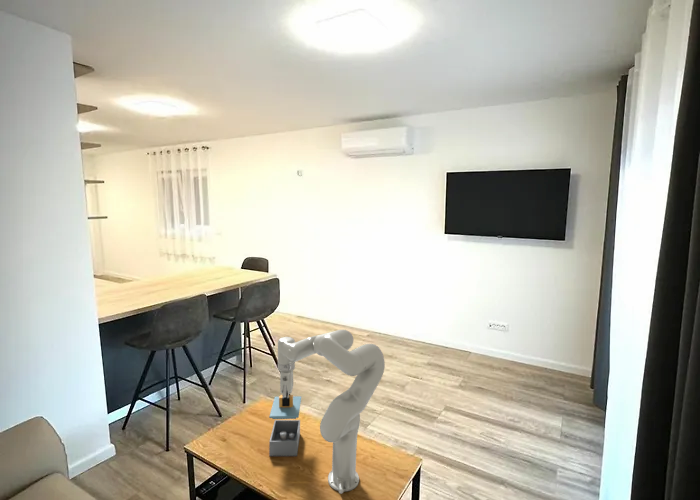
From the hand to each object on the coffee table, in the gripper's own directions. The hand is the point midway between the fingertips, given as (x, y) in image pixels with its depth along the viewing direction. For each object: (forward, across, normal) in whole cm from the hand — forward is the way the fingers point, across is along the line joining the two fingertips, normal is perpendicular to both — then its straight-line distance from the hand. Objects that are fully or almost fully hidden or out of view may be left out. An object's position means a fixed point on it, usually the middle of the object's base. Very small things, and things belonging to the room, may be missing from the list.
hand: (286, 403), depth 171 cm
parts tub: (+20, 0, 0) cm, 20 cm away
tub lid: (+3, 0, 0) cm, 3 cm away
